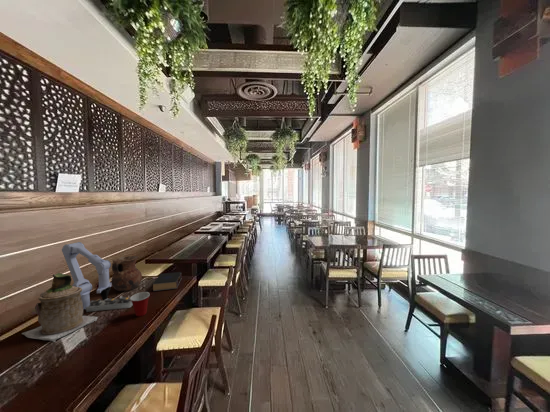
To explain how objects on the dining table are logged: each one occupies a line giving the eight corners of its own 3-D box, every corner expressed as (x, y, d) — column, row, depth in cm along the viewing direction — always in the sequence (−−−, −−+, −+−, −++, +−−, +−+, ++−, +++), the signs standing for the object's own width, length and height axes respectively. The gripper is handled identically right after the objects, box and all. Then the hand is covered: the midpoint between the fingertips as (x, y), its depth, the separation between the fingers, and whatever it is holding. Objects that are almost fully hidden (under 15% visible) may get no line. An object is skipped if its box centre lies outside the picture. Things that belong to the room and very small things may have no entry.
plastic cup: (128, 320, 143) (127, 300, 143) (134, 311, 154) (133, 293, 153) (148, 317, 146) (147, 297, 145) (152, 309, 156) (151, 291, 156)
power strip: (86, 312, 155) (85, 304, 155) (93, 306, 163) (92, 299, 163) (130, 307, 160) (129, 300, 159) (134, 302, 167) (134, 295, 167)
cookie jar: (99, 319, 145) (96, 267, 144) (52, 344, 121) (48, 281, 120) (70, 315, 152) (66, 265, 150) (19, 337, 128) (15, 278, 127)
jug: (117, 285, 202) (115, 256, 202) (144, 282, 209) (143, 253, 208) (107, 295, 181) (105, 262, 180) (138, 291, 188) (137, 259, 187)
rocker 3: (118, 301, 159) (119, 298, 159) (120, 299, 162) (121, 295, 162) (126, 302, 160) (127, 299, 160) (128, 300, 163) (129, 297, 163)
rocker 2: (104, 303, 158) (104, 299, 158) (107, 301, 161) (107, 297, 161) (112, 303, 158) (113, 299, 158) (115, 301, 162) (115, 297, 162)
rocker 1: (90, 305, 156) (89, 302, 156) (93, 303, 159) (92, 300, 159) (98, 303, 157) (97, 300, 157) (101, 301, 160) (100, 297, 160)
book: (181, 279, 214) (181, 271, 214) (176, 289, 190) (176, 281, 190) (160, 281, 211) (160, 273, 210) (153, 292, 186) (152, 283, 186)
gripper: (104, 282, 152) (105, 303, 153) (115, 275, 166) (116, 294, 167) (92, 283, 151) (93, 305, 151) (104, 276, 165) (105, 295, 166)
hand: (105, 299), depth 159 cm, fingers closed, pressing on rocker 2
